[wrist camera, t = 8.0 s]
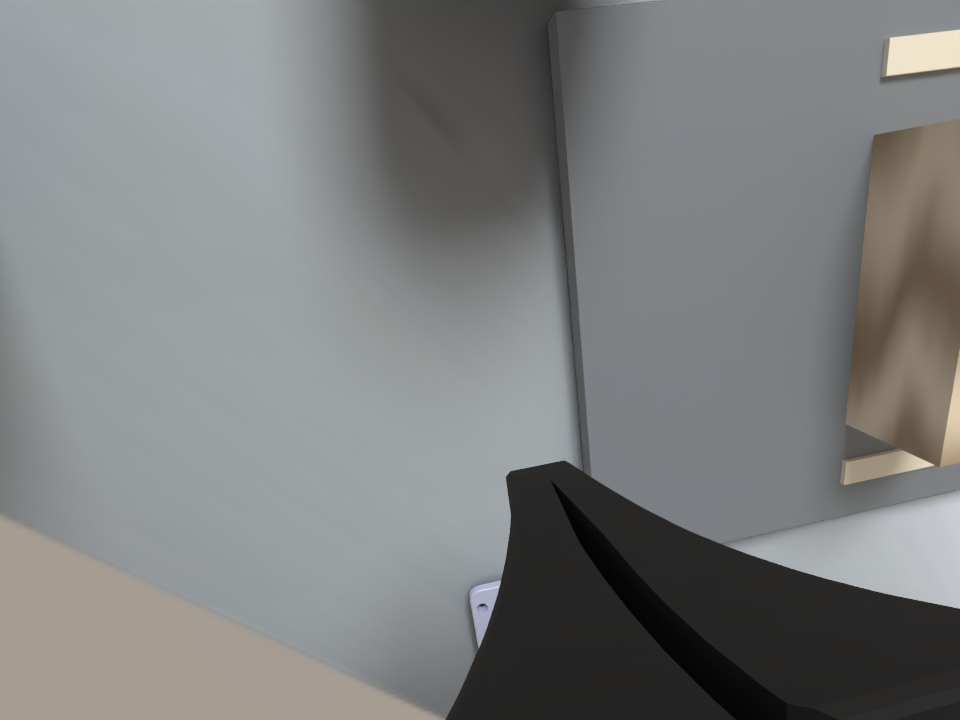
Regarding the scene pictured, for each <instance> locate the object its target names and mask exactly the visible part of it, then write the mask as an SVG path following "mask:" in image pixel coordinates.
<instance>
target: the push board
mask: <svg viewBox="0 0 960 720" xmlns="http://www.w3.org/2000/svg"><path fill="white" fill-rule="evenodd" d="M547 27H548V39H549V51H550V64H551V76H552V88H553V100H554V113H555V125H556V137H557V149H558V162H559V174H560V186H561V198H562V211H563V223H564V235H565V247H566V260H567V272H568V284H569V296H570V309H571V321H572V333H573V346H574V358H575V370H576V382H577V395H578V407H579V419H580V431H581V444H582V456H583V468H584V473H586V474H587V475H589V476H590V477H592V478H594V479H595V480H597V481H598V482H600V483H601V484H603V485H605V486H606V487H608V488H610V489H611V490H613V491H615V492H616V493H618V494H620V495H621V496H623V497H625V498H626V499H628V500H630V501H632V502H633V503H635V504H637V505H639V506H641V507H643V508H644V509H646V510H648V511H650V512H652V513H654V514H656V515H658V516H660V517H662V518H664V519H666V520H668V521H670V522H672V523H674V524H676V525H678V526H680V527H682V528H684V529H687V530H689V531H691V532H693V533H696V534H698V535H700V536H703V537H705V538H708V539H710V540H712V541H715V542H717V543H720V544H721V543H725V542H729V541H734V540H738V539H743V538H747V537H752V536H756V535H761V534H765V533H769V532H774V531H778V530H783V529H787V528H792V527H796V526H800V525H805V524H809V523H814V522H818V521H823V520H827V519H832V518H836V517H840V516H845V515H849V514H854V513H858V512H863V511H867V510H871V509H876V508H880V507H885V506H889V505H894V504H898V503H902V502H907V501H911V500H916V499H920V498H925V497H929V496H934V495H938V494H942V493H947V492H951V491H956V490H960V463H957V464H953V465H948V466H944V467H938V466H936V465H933V464H931V463H929V462H927V461H925V460H923V459H920V458H918V457H916V456H914V455H912V454H910V453H907V452H905V451H903V450H901V449H899V448H897V447H894V446H892V445H890V444H888V443H886V442H884V441H881V440H879V439H877V438H875V437H873V436H870V435H868V434H866V433H864V432H862V431H860V430H857V429H855V428H853V427H851V426H849V425H847V424H845V421H846V411H847V401H848V391H849V381H850V371H851V361H852V351H853V341H854V331H855V321H856V311H857V301H858V291H859V281H860V271H861V261H862V251H863V241H864V231H865V221H866V211H867V201H868V191H869V181H870V171H871V161H872V151H873V141H874V135H876V134H881V133H887V132H892V131H897V130H903V129H908V128H913V127H919V126H924V125H929V124H935V123H940V122H945V121H951V120H956V119H960V0H661V1H651V2H641V3H632V4H622V5H612V6H603V7H593V8H583V9H573V10H564V11H556V12H555V13H554V15H553V16H552V18H551V19H550V20H549V22H548V23H547Z"/></svg>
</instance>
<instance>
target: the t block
mask: <svg viewBox="0 0 960 720" xmlns="http://www.w3.org/2000/svg"><path fill="white" fill-rule="evenodd" d="M845 424H847V425H849V426H851V427H853V428H855V429H857V430H860V431H862V432H864V433H866V434H868V435H870V436H873V437H875V438H877V439H879V440H881V441H884V442H886V443H888V444H890V445H892V446H894V447H897V448H899V449H901V450H903V451H905V452H907V453H910V454H912V455H914V456H916V457H918V458H920V459H923V460H925V461H927V462H929V463H931V464H933V465H936V466H938V467H944V466H948V465H953V464H957V463H960V119H956V120H951V121H945V122H940V123H935V124H929V125H924V126H919V127H913V128H908V129H903V130H897V131H892V132H887V133H881V134H876V135H874V141H873V151H872V161H871V171H870V181H869V191H868V201H867V211H866V221H865V231H864V241H863V251H862V261H861V271H860V281H859V291H858V301H857V311H856V321H855V331H854V341H853V351H852V361H851V371H850V381H849V391H848V401H847V411H846V421H845Z"/></svg>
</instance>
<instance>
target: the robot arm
mask: <svg viewBox="0 0 960 720" xmlns="http://www.w3.org/2000/svg"><path fill="white" fill-rule="evenodd" d="M506 481H507V488H508V496H509V503H510V510H511V527H510V536H509V542H508V549H507V555H506V561H505V566H504V571H503V575H502V579H501V580H500V581H496V582H491V583H487V584H482V585H478V586H475V587H474V588H473V589H471V591H470V593H469V598H470V604H471V610H472V615H473V621H474V626H475V632H476V638H477V643H478V649H479V650H478V652H477V654H476V656H475V659H474V661H473V663H472V666H471V668H470V670H469V673H468V675H467V677H466V680H465V682H464V684H463V686H462V689H461V691H460V693H459V695H458V697H457V699H456V701H455V703H454V705H453V707H452V709H451V710H450V712H449V714H448V716H447V718H446V720H960V609H958V608H953V607H948V606H943V605H938V604H933V603H928V602H923V601H918V600H913V599H908V598H903V597H898V596H893V595H888V594H884V593H879V592H875V591H871V590H867V589H863V588H859V587H855V586H852V585H848V584H844V583H840V582H836V581H832V580H828V579H824V578H821V577H817V576H814V575H811V574H807V573H804V572H800V571H797V570H793V569H790V568H787V567H784V566H781V565H778V564H775V563H772V562H769V561H766V560H763V559H760V558H757V557H754V556H751V555H748V554H746V553H743V552H740V551H737V550H735V549H732V548H729V547H727V546H724V545H722V544H720V543H717V542H715V541H712V540H710V539H708V538H705V537H703V536H700V535H698V534H696V533H693V532H691V531H689V530H687V529H684V528H682V527H680V526H678V525H676V524H674V523H672V522H670V521H668V520H666V519H664V518H662V517H660V516H658V515H656V514H654V513H652V512H650V511H648V510H646V509H644V508H643V507H641V506H639V505H637V504H635V503H633V502H632V501H630V500H628V499H626V498H625V497H623V496H621V495H620V494H618V493H616V492H615V491H613V490H611V489H610V488H608V487H606V486H605V485H603V484H601V483H600V482H598V481H597V480H595V479H594V478H592V477H590V476H589V475H587V474H586V473H584V472H582V471H581V470H579V469H578V468H576V467H575V466H573V465H571V464H570V463H568V462H566V461H560V462H555V463H550V464H545V465H540V466H535V467H530V468H525V469H520V470H515V471H510V473H509V474H508V475H507V476H506ZM480 604H485V605H484V606H478V605H480Z"/></svg>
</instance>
